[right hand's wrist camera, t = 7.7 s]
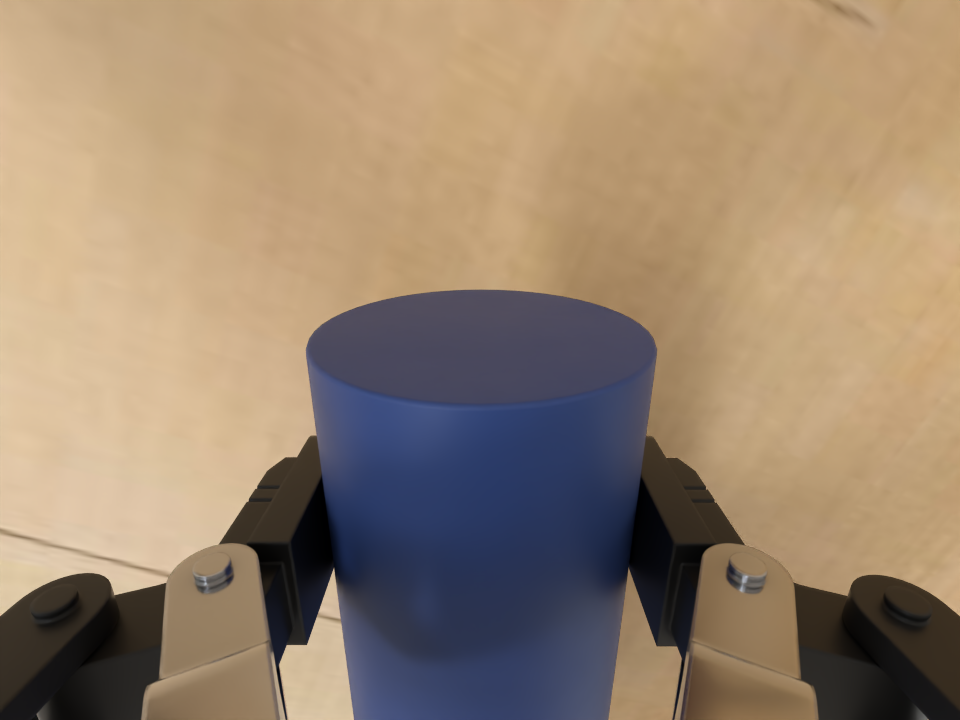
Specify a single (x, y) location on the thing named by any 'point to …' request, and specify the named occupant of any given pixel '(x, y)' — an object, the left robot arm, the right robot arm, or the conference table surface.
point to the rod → (481, 499)
